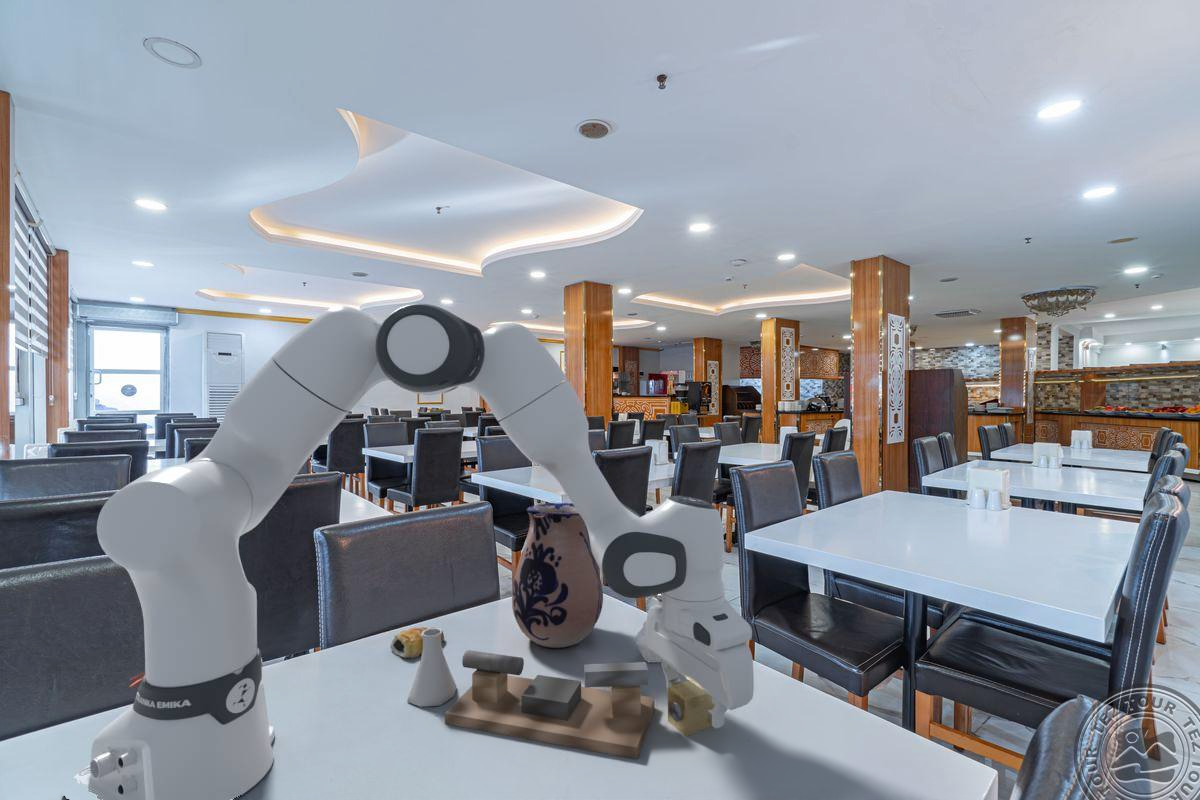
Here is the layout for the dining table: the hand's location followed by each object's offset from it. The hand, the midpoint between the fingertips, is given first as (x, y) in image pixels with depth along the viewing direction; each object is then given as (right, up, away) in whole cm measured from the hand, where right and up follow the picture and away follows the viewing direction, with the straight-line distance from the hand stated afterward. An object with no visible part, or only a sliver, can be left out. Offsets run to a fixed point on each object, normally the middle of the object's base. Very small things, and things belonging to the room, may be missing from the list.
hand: (693, 707), depth 78 cm
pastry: (-48, -3, +23) cm, 53 cm away
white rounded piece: (-4, -2, +19) cm, 19 cm away
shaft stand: (-20, -2, +2) cm, 21 cm away
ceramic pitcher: (-21, -2, +29) cm, 36 cm away
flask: (-40, -3, +7) cm, 40 cm away
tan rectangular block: (0, -2, 0) cm, 2 cm away
